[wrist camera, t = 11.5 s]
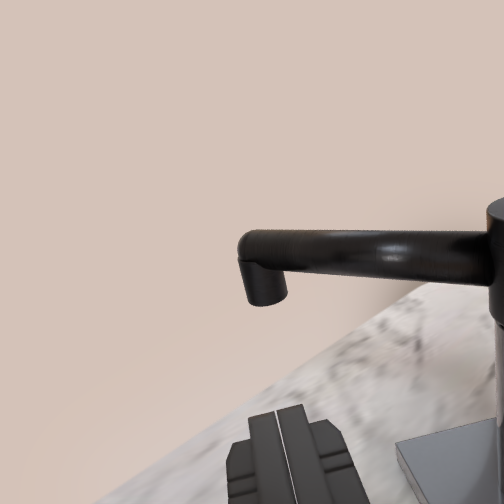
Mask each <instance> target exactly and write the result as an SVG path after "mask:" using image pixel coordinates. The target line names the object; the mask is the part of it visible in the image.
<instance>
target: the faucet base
mask: <svg viewBox="0 0 504 504" xmlns="http://www.w3.org/2000/svg"><path fill="white" fill-rule="evenodd" d="M495 361H496V404H497V417H495V418H491V419H487V420H484V421H480V422H476V423H472V424H468V425H464V426H460V427H456V428H452V429H448V430H444V431H440V432H436V433H433V434H429V435H425V436H421V437H417V438H413V439H409V440H405V441H401V442H397V443H395V445H396V453H397V460H398V462H399V464H400V466H401V468H402V470H403V472H404V474H405V476H406V478H407V479H408V481H409V483H410V485H411V487H412V489H413V491H414V493H415V495H416V496H417V498H418V500H419V502H420V504H504V326H503V325H501V324H500V323H498V322H497V321H496V320H495Z"/></svg>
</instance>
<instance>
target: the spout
mask: <svg viewBox="0 0 504 504" xmlns="http://www.w3.org/2000/svg"><path fill="white" fill-rule="evenodd" d="M486 213H487V214H486V215H487V231H379V230H377V231H376V230H375V231H374V230H371V231H369V230H251V231H249V232H247V233H245V234H244V235H243V236H242V237H241V239H240V240H239V243H238V247H237V251H238V263H239V267H240V271H241V275H242V279H243V283H244V287H245V291H246V295H247V299H248V302H249V303H250V304H251V305H253V306H258V307H263V306H269V305H274V304H276V303H279V302H280V301H282V300H284V299H285V298H286V296H287V294H288V291H287V286H286V281H285V277H284V272H283V271H291V272H304V273H317V274H330V275H344V276H357V277H370V278H383V279H396V280H409V281H422V282H435V283H448V284H461V285H474V286H487V287H489V311H490V313H491V315H492V317H493V318H494V319H495V320H496V321H497V322H498V323H500V324H501V325H503V326H504V198H501V199H498V200H496V201H494V202H493V203H491V204H490V205H489V206H488V208H487V211H486Z"/></svg>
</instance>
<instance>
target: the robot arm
mask: <svg viewBox="0 0 504 504" xmlns="http://www.w3.org/2000/svg"><path fill="white" fill-rule="evenodd" d="M276 411H277V415H278V420H279V424H280V428H281V433H282V437H283V442H284V446H285V450H286V455H287V459H288V463H289V468H290V472H291V476H292V481H293V485H294V489H295V494H296V498H297V502H298V504H370V502H369V499H368V497H367V495H366V492H365V490H364V487H363V485H362V482H361V480H360V477H359V475H358V473H357V470H356V468H355V466H354V463H353V460H352V458H351V456H350V453H349V452H348V448H347V446H346V443H345V441H344V438H343V436H342V434H341V431H339V430H338V429H337V428H336V427H335V426H334V425H333V424H332V423H331V422H330V421H329V420H327V419H325V420H321V421H317V422H314V423H310V424H309V423H308V420H307V416H306V413H305V410H304V407H303V405H302V404H300V405H296V406H292V407H288V408H284V409H280V410H276ZM248 423H249V430H250V438H251V439H248V440H244V441H240V442H236V443H233V444H232V447H231V449H230V452H229V455H228V457H227V460H226V470H227V482H228V483H227V488H228V498H229V499H228V504H297V503H296V499H295V494H294V490H293V486H292V481H291V477H290V472H289V468H288V464H287V460H286V456H285V452H284V448H283V444H282V440H281V436H280V432H279V428H278V424H277V420H276V416H275V412H274V411H272V412H269V413H265V414H261V415H257V416H253V417H249V418H248Z"/></svg>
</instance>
